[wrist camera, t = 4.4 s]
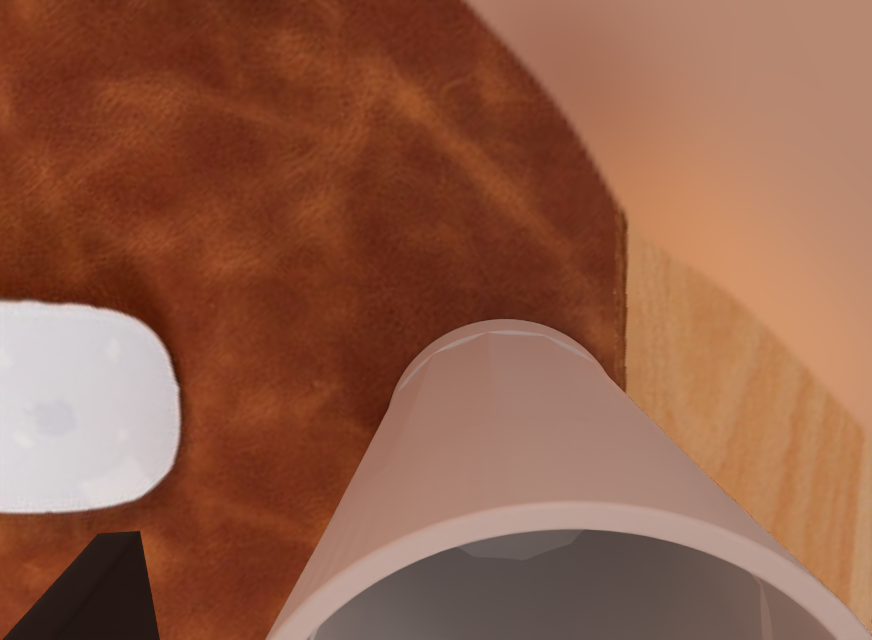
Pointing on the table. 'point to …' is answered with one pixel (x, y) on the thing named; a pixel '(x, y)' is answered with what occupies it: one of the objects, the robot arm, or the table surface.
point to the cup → (542, 517)
